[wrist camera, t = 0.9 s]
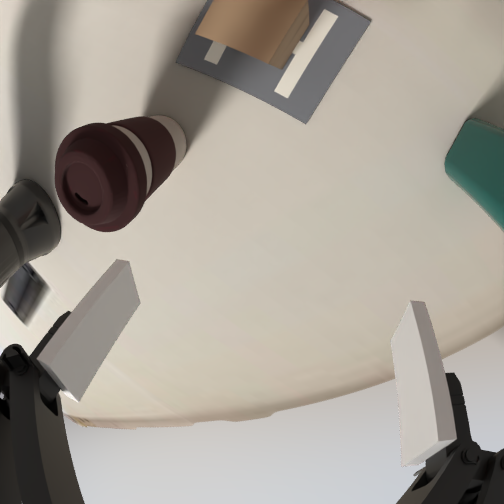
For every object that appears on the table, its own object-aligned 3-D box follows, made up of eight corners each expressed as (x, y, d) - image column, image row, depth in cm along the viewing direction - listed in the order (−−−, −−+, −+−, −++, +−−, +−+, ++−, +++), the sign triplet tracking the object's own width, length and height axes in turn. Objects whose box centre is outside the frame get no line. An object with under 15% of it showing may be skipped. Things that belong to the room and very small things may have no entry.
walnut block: (230, 46, 25) (194, 34, 16) (256, 1, 21) (231, -29, 13) (281, 69, 25) (268, 63, 17) (309, 24, 22) (308, -1, 14)
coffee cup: (179, 90, 29) (93, 108, 16) (211, 165, 33) (149, 226, 21) (116, 124, 32) (29, 162, 20) (146, 190, 37) (76, 251, 24)
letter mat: (177, 62, 27) (175, 62, 26) (232, -38, 19) (231, -39, 18) (306, 123, 28) (305, 124, 28) (370, 22, 21) (370, 21, 20)
